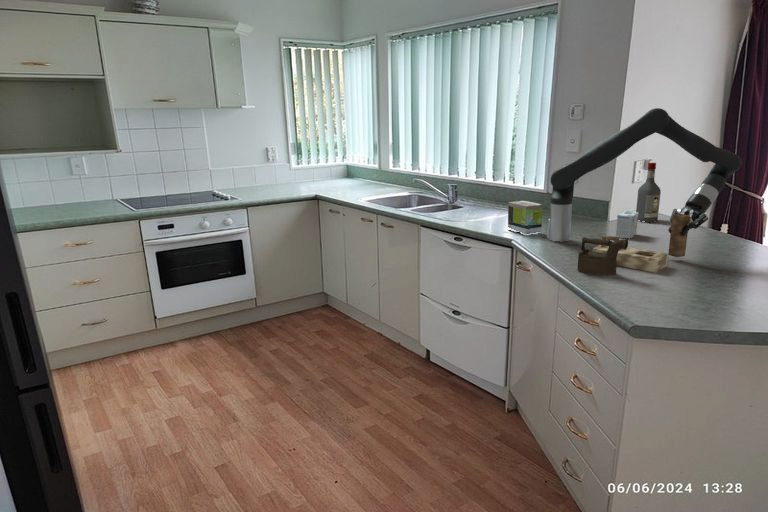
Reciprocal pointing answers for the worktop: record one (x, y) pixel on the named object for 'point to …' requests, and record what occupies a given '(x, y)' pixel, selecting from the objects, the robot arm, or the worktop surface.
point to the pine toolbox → (636, 257)
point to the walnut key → (678, 236)
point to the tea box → (525, 216)
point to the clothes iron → (600, 256)
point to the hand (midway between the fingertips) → (675, 233)
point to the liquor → (648, 197)
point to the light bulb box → (627, 224)
